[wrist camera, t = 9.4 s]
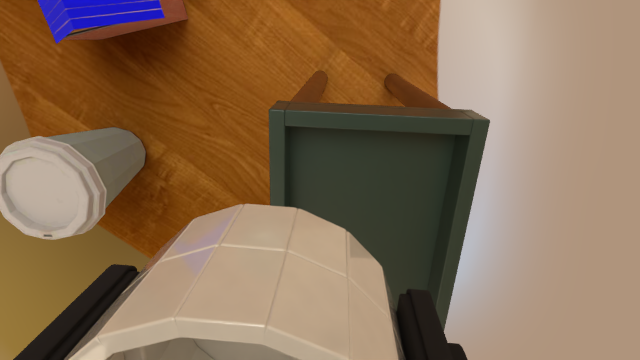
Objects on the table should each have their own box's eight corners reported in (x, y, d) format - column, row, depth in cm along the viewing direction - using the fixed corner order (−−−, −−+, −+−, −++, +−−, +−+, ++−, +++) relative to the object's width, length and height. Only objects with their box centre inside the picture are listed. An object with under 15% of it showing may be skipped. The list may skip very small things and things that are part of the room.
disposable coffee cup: (77, 109, 45) (-40, 140, 31) (159, 112, 45) (76, 144, 31) (95, 185, 49) (-2, 242, 35) (170, 189, 49) (101, 248, 35)
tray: (401, 72, 41) (490, 119, 17) (384, 216, 48) (429, 400, 24) (312, 68, 42) (268, 109, 17) (308, 212, 49) (273, 387, 24)
